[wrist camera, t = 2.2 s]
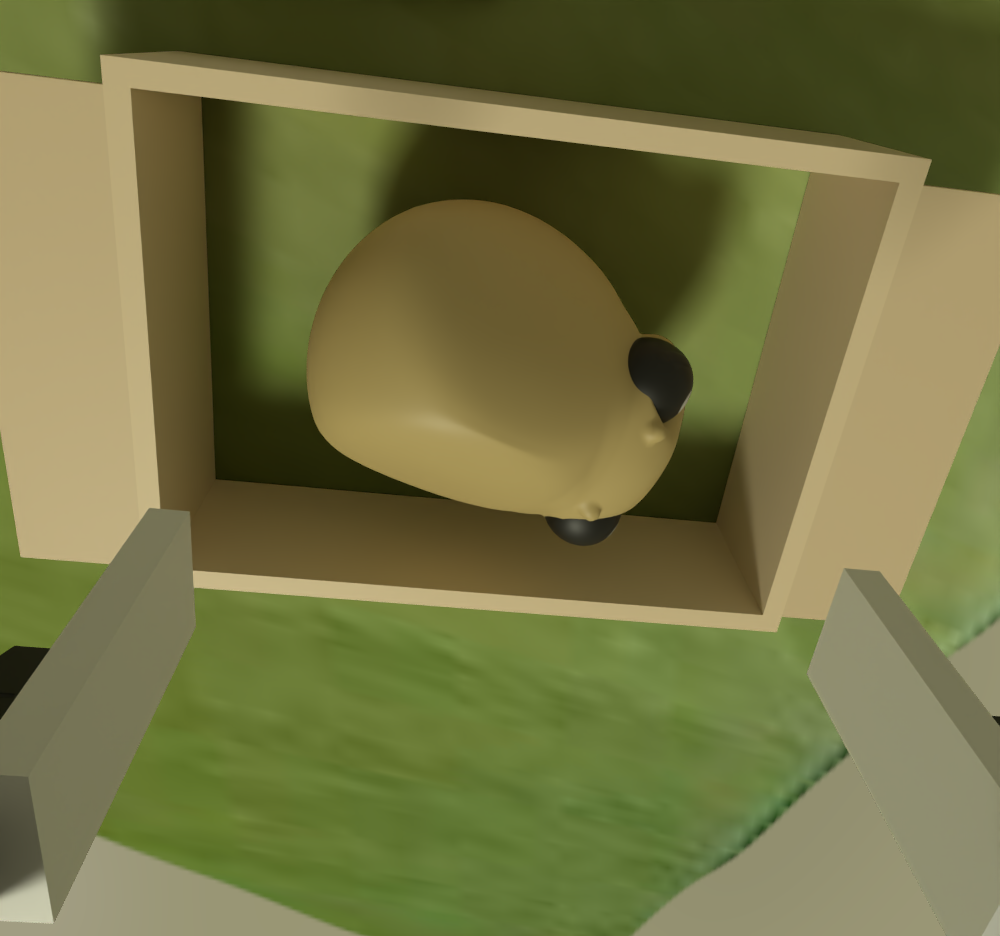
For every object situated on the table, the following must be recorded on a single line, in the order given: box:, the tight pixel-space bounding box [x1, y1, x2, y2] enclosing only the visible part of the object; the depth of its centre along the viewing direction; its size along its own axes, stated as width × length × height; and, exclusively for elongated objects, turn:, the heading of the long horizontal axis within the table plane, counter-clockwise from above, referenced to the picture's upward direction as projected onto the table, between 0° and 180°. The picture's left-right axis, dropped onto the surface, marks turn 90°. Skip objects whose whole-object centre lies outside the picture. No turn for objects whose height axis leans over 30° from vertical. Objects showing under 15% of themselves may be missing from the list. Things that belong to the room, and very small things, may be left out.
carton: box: [0, 51, 1000, 632], centre depth 29 cm, size 16×30×6 cm, turn 83°
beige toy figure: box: [307, 199, 693, 546], centre depth 27 cm, size 10×12×11 cm
